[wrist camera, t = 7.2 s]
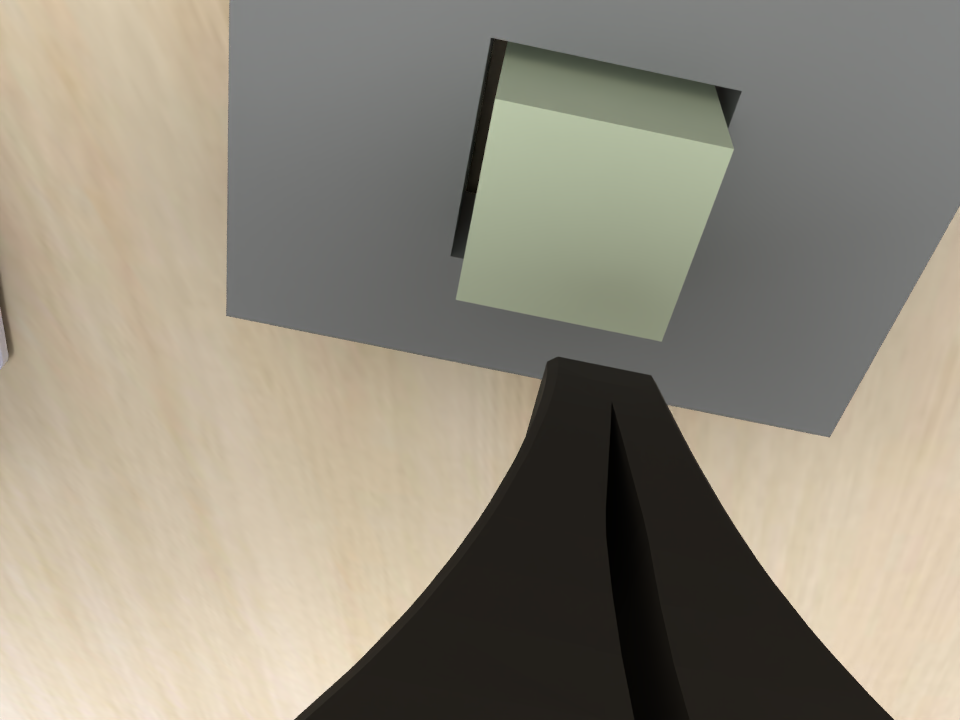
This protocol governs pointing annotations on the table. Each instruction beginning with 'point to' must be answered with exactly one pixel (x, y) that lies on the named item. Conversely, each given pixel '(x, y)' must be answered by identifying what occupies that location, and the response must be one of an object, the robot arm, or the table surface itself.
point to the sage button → (592, 191)
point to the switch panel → (727, 234)
